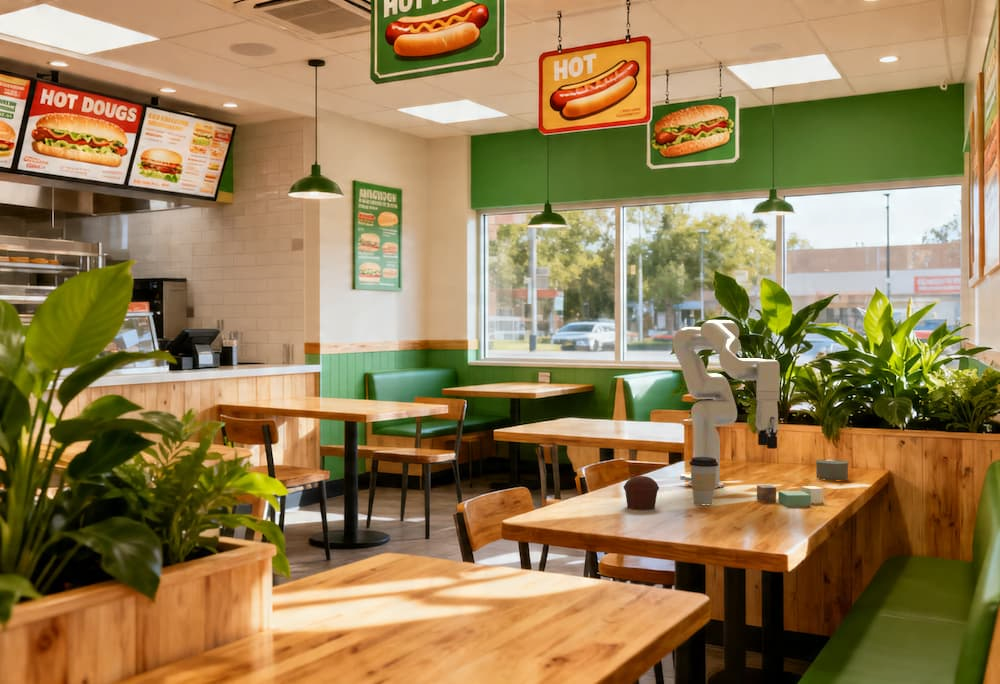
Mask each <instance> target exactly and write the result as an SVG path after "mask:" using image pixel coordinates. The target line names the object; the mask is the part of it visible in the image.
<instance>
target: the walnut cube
mask: <svg viewBox="0 0 1000 684" xmlns="http://www.w3.org/2000/svg"><path fill="white" fill-rule="evenodd" d="M757 499H758V500H757ZM756 500H757V501H759V500H760V501H765V502H764V503H777V486H774V485H772V484H757V485H756ZM760 501H759V502H760Z"/></svg>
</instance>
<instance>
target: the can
mask: <svg viewBox="0 0 1000 684" xmlns="http://www.w3.org/2000/svg"><path fill="white" fill-rule="evenodd" d="M815 465H816V466H815V467H816V476H815V477H817V478H819V479H818V480H820V479H825V480H824V481H826V480H846V479H848V480H849V478H848V477H849V461H847V460H841V459H825V458H824V459H816V460H815ZM817 478H816V479H817Z"/></svg>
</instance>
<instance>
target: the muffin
mask: <svg viewBox="0 0 1000 684" xmlns="http://www.w3.org/2000/svg"><path fill="white" fill-rule="evenodd" d="M659 489H660V487H659V485H658V483H657V482H656V481H655V480H654V479H653V478H651V477H648V476H645V475H637V476H633V477H631V478H629V479H628V480H627V481H626V482H625V484H624V485H623V490H624V493H625V499H626V506H627V509H629V508H630V510H636V511H651V510H655V508H656V504H657V503H656V502H657V496H658V491H659Z"/></svg>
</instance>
